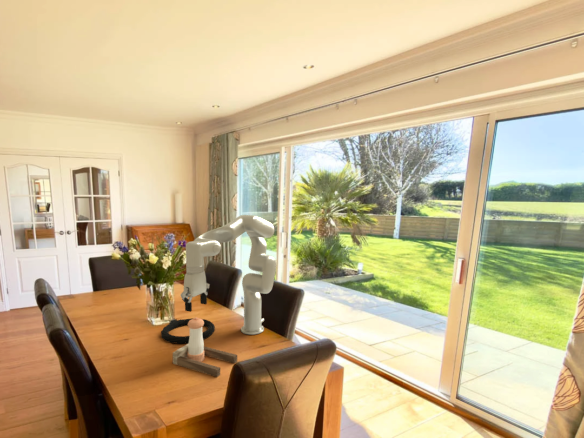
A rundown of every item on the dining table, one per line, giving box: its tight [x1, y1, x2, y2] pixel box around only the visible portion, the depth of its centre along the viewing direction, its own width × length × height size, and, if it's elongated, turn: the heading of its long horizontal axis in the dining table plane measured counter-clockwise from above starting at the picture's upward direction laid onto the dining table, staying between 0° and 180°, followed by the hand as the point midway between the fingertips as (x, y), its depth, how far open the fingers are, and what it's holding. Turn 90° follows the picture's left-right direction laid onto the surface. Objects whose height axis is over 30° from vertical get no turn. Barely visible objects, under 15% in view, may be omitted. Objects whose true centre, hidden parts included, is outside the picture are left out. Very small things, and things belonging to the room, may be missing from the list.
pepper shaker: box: [187, 316, 205, 363], centre depth 142 cm, size 7×7×19 cm
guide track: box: [172, 343, 238, 378], centre depth 139 cm, size 14×24×5 cm, turn 65°
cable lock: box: [160, 318, 216, 345], centre depth 171 cm, size 28×4×30 cm
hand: (196, 307), depth 141 cm, fingers open, 9 cm apart
